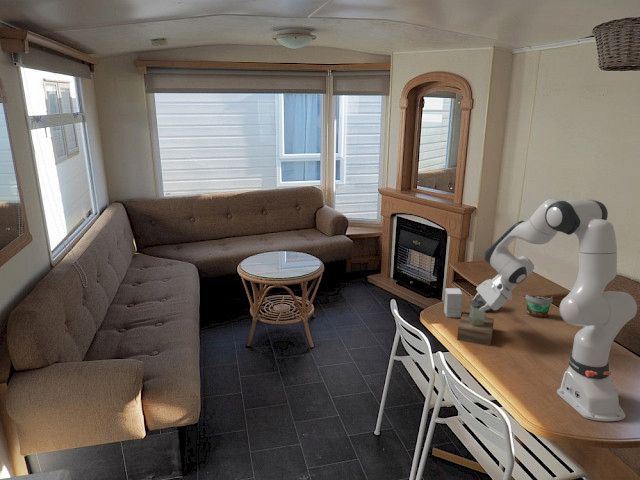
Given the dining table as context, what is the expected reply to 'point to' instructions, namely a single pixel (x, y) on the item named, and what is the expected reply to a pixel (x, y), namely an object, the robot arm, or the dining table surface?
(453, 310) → the supplement box
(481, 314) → the sage tea tin
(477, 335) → the walnut box
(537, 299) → the food container
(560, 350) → the dining table surface
